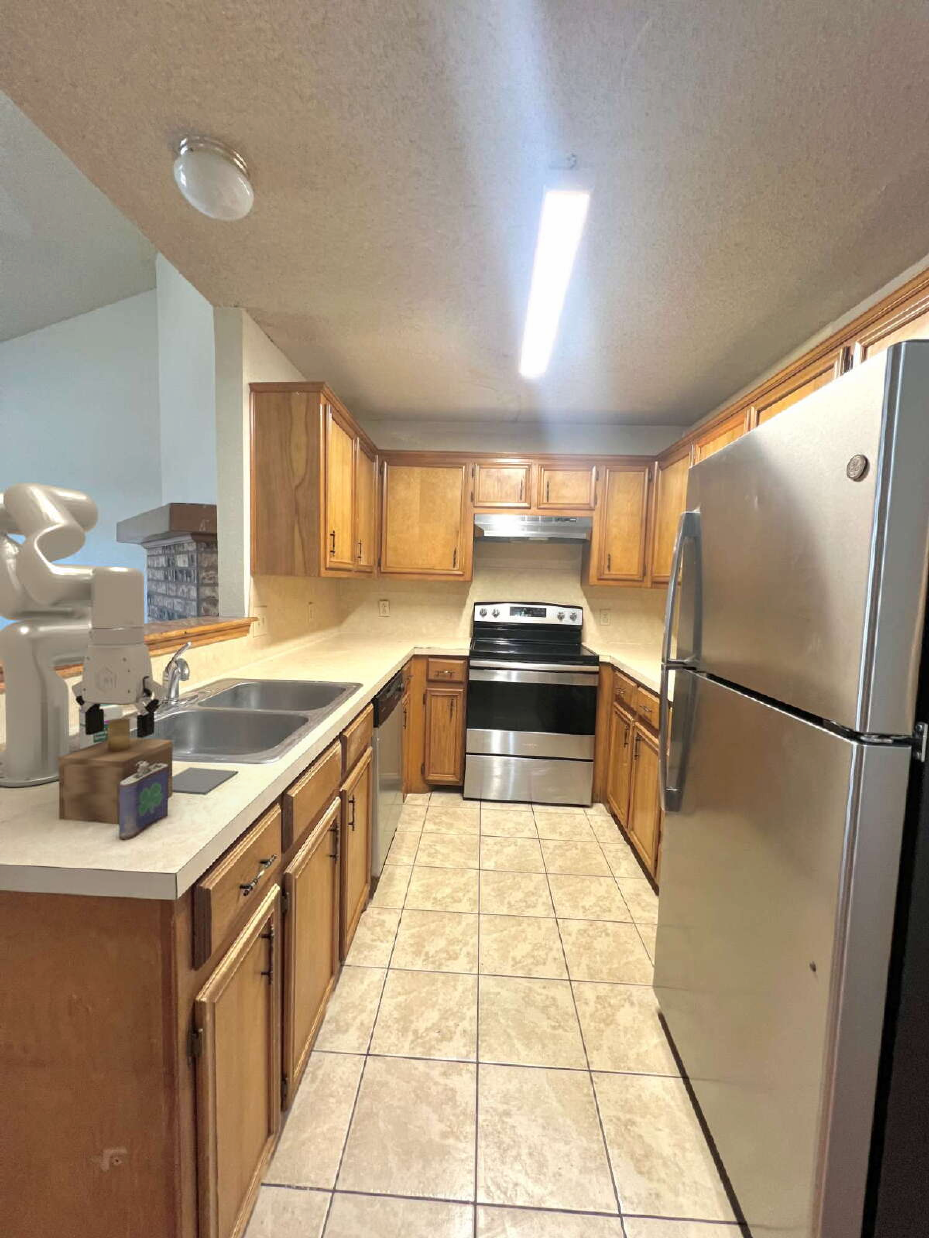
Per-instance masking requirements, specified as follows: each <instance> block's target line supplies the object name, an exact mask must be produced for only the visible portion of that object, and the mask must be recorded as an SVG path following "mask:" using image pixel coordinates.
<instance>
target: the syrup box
mask: <svg viewBox="0 0 929 1238" xmlns="http://www.w3.org/2000/svg"><path fill="white" fill-rule="evenodd" d="M123 706H124V705H110V704H102V706H101V707H100V709H103V710H104V730H103V731H101V732H98V733H95V734H92V735H86V734H85V712H82V711H81V706H80V705H79V706H78V729H79V731H78V733H79V740H78V741H79V750H80V749H83V748H86V747H88V746H91V745H94V744H97V743H99V742H102V741H105V740H108V721H109V720H112V719H118V718H124V714H123V713H124V711H123V710H124V709H123Z"/></svg>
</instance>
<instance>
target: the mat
mask: <svg viewBox="0 0 929 1238" xmlns="http://www.w3.org/2000/svg"><path fill="white" fill-rule="evenodd" d="M237 774H239V770H227V769H217V768H215V769H214V768H201V767H188V768H185V770H182V771H180V772H179V773H176V774H175V775H172V793H183V794H194V795H205V796H206V794H208V793H210V792H212V790H215V789H216V788H218V787H219V786H220V785H222V784H224V783H226V782H227V781H228V780H230V779H231V778H233V777H234V776H236V775H237Z"/></svg>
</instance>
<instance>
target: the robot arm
mask: <svg viewBox="0 0 929 1238" xmlns="http://www.w3.org/2000/svg"><path fill="white" fill-rule="evenodd" d="M98 520H99V510H98V507H97V504H96V502H95V501H94V500H93V498H92V497H90V496H89V495H88V494H86V493H84V492H83V491H79V490H77V489H76V490H75V489H70V488H65V487H60V486H59V487H58V486H54V485H53V486H52V485H47V484H44V483H43V484H42V483H37V482H21V483H19V482H18V483H16V484H13V485H10V486H9V487H8V488H7V489H6V490H5V491H0V617H2V618H3V619H4V620H9V621H15V622H13V623H10V624H7V625H6V626H4V627H3V628H2V629H1V630H0V663H1V666H2V672H3V679H4V680H3V681H4V694H5V695H4V697H5V700H4V701H5V702H4V703H5V746H6V747H5V749H6V751H3V752H1V753H0V765H2V771H0V786H2V787H7V788H14V787H15V788H18V787H19V788H21V787H29V786H35V785H43V784H47V783H51V782H52V783H53V782H56V781H59V757H61V756H63V755H66V754H69V753H70V711H69V710H70V705H69V703H70V700H69V699H70V698H69V697H70V696H69V695H70V694H69V693H70V692H69V686H68V683H67V682H66V680H65V679H64V678H63V677H62V676H61V675H59V673H57V672H56V670H55V669H54V667H60V666H65V665H74V664H82V672H81V673H82V674H81V675H82V676H81V681H78V682H77V683H76V684H73V685H72V686H71V691H72V693H73V695H74V697H75V702H76V703H77V704H78V705H79V707H80V706H81V711H82V712H85V734H86V735H92V734H95V733H98V732H101V731H103V730H104V710H103V709H100V707H101V706H102V704H110V705H122V706H129V705H132V704H133V706H134V707H135V708H136V709H137V711H138V712H139V714H138V715H137V716H136V738H143V739H144V738H145V737H146V738H147V737H148V736H150V735H153V734H154V733H155V713H156V712H157V711H158V710H159V708H161V706H162V705H163V704H164V700H165V698H166V696H167V694H168V692H169V689H168V688H167V687H165V686H164V685H162V684H160V683H158V682H157V681H155V680H154V679H153V678H154V677H153V667H152V660H151V656H150V654H151V653H150V650H149V647H148V646H149V645H146V644H145V643H146V641H145V639H146V638H145V576H144V573H143V571H141V570H140V569H139V568H135V567H129V566H128V567H127V566H99V565H86V564H85V565H84V564H71V563H66V564H65V563H53V562H56V561H59V560H63V559H66V558H68V557H71V556H73V555H75V554H77V553H78V552H79V551H80V550H82V548H83V546H84V545H85V543H86V533H87V532H90V531H91V530H93V529H94V528H95V527H96V525H97V523H98ZM9 535H14V536H15V535H16V536H23V537H24V538H25V540H24V541H23V542H22V543H19V542H17V541H16V540H15V539H13V538H11V537H10V536H9ZM153 694H154V695H153ZM152 697H153V699H152Z"/></svg>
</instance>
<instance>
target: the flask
mask: <svg viewBox="0 0 929 1238" xmlns="http://www.w3.org/2000/svg"><path fill="white" fill-rule="evenodd" d="M142 762H143V763H142ZM140 763H142V764H140ZM137 764H139V769H138V770H137V771H138V773H136V774H134V775H132V776H130V777H128V778H127V779H125V780H123V781H121V782H120V784H119V789H120V804H119V810H120V820H119V824H118V829H119V830H118V837H119V839H120V840H126V841H127V840H129V839H130V838H135V837H137V836H138V835H140V834H141V833H143V832H144V831H147V829H150V828H151V827H152V826H153V825H154V824H157V823H158V822H159V821H162V820H163V819H165V818H168V816H169V809H168V808H169V807H168V806H169V804H168V802H169V797H168V795H169V793H168V780H169V765H168V764H162V763H160V764H154V765H153V766H150V767H148V766H147V765H149V763H148V764H147V762H146V761H145V762H144V761H141V762H138V763H137ZM137 764H136V766H137Z"/></svg>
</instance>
